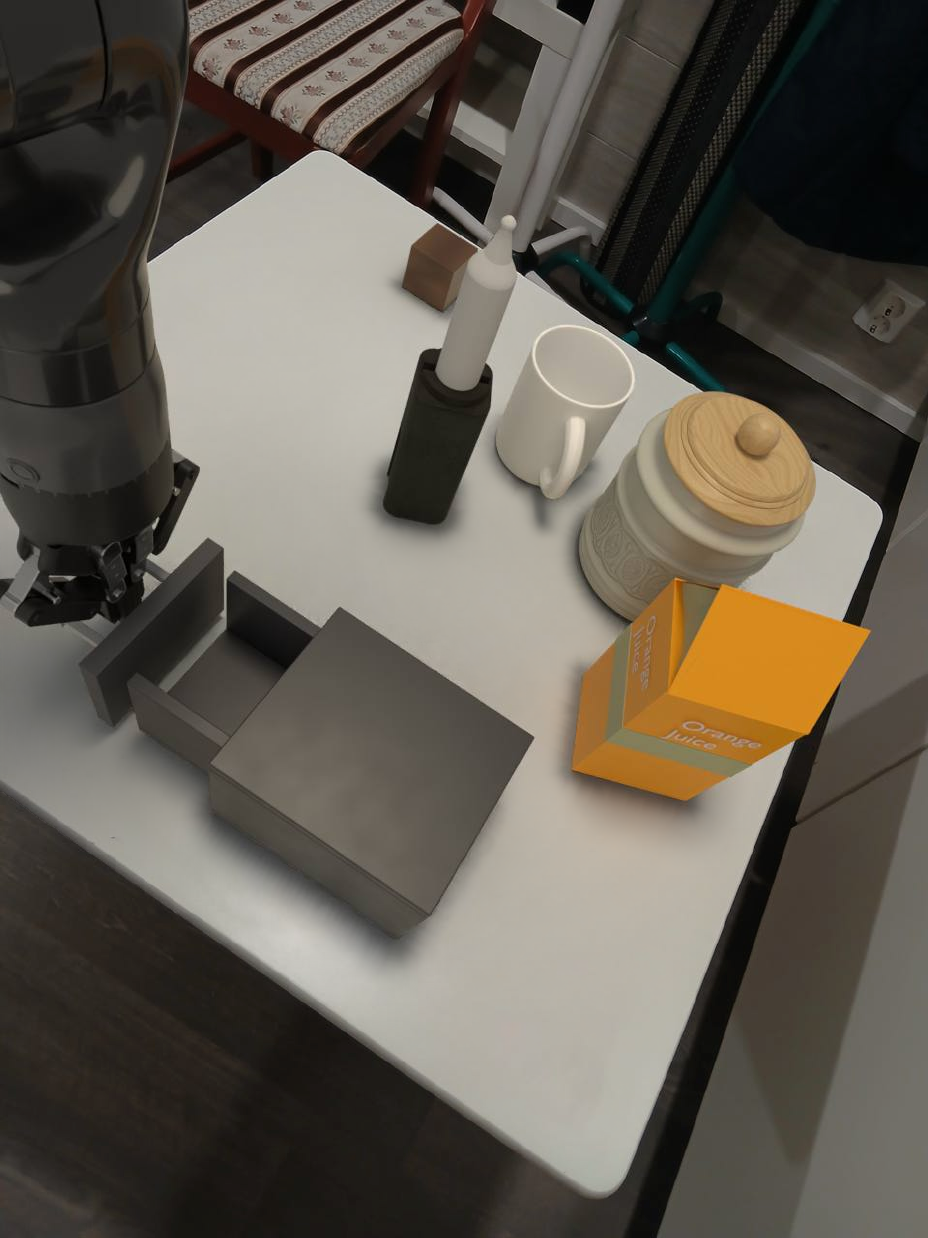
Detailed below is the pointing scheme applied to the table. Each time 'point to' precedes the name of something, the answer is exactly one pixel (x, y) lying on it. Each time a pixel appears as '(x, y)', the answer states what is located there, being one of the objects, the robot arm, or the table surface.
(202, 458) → the table surface
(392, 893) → the fryer
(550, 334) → the mug
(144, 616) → the basket
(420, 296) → the block
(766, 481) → the jar
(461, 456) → the candle
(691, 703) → the orange juice
